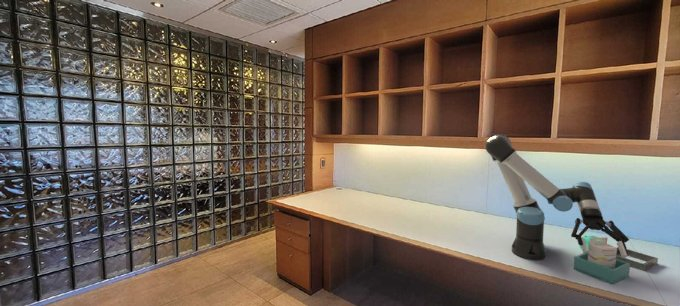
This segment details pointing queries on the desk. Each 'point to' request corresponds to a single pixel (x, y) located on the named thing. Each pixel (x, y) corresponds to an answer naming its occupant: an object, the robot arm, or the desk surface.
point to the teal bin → (602, 269)
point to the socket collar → (641, 266)
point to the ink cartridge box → (602, 253)
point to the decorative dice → (588, 240)
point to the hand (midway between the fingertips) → (604, 254)
